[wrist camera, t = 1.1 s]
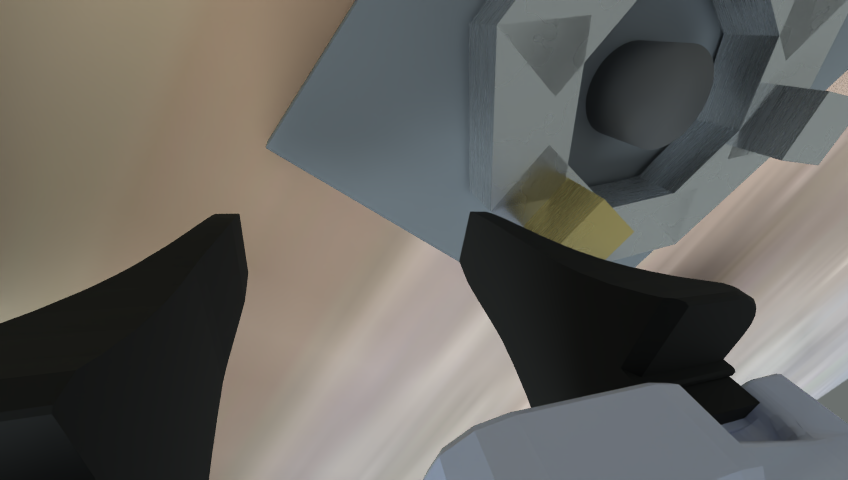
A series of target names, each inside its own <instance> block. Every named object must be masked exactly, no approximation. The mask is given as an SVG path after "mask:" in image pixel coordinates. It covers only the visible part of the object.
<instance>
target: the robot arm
mask: <svg viewBox="0 0 848 480" xmlns="http://www.w3.org/2000/svg"><path fill="white" fill-rule="evenodd" d="M459 261H460V264H461V267H462V269H463V272H464V274H465V277H466V279H467V281H468V283H469V285H470V287H471V289H472V290H473V292H474V294H475V296H476V297H477V299H478V301H479V302H480V304H481V305H482V307H483V309H484V310H485V312H486V314H487V315H488V317H489V319H490V320H491V322H492V324H493V325H494V327H495V329H496V330H497V332H498V334H499V335H500V337H501V339H502V341H503V343H504V345H505V347H506V349H507V351H508V354H509V356H510V358H511V360H512V362H513V364H514V367H515V369H516V371H517V374H518V376H519V378H520V381H521V383H522V386H523V388H524V390H525V393H526V395H527V398H528V400H529V403H530V406H531V408H528V409H524V410H519V411H514V412H510V413H507V414H504V415H502V416H499V417H496V418H494V419H491V420H488V421H486V422H483V423H480V424H478V425H475V426H473V427H471V428H470V429H469V430H467V431H466V432H464V433H463V434H462V435H460V436H459V437H457V438H456V439H455V440H453V441H452V442H450V443H449V444H448V445H446V446H445V447H443V448H442V450H441V451H440V453H439V454H438V456H437V457H436V459H435V460H434V462H433V463H432V465H431V466H430V468H429V469H428V471H427V473H426V475H425V477H424V479H423V480H848V423H847V422H845V421H844V420H842V419H841V418H840V417H838V416H837V415H836V414H834V413H833V412H832V411H830V410H829V409H828V408H826V407H825V406H824V405H822V404H821V403H819V402H818V401H817V400H815V399H814V398H813V397H811V396H810V395H809V394H807V393H806V392H805V391H803V390H802V389H801V388H799V387H798V386H796V385H795V384H794V383H792V382H791V381H790V380H788V379H787V378H786V377H784V376H783V375H782V374H773V375H769V376H765V377H761V378H757V379H753V380H750V381H748V382H746V383H745V384H743V385H742V386H740V385H739V384H738V383H736V382H735V381H734V380H733V379H732V378H730V377H729V376H732V375H733V374H734V373H735V369H734V368H733V367H732V366H731V365H730V364H728V363H727V362H726V361H725V360H723V359H724V358H725V357H726V355H727V354H728V353H729V352H730V350H731V349H732V348H733V347H734V346H735V344H736V343H737V342H738V341H739V340H740V338H741V337H742V336H743V335H744V333H745V332H746V331H747V329H748V328H749V326H750V325H751V323H752V321H753V319H754V317H755V313H756V304H755V301H754V299H753V298H751V297H750V296H748V295H747V294H745V293H744V292H742V291H741V290H739V289H737V288H735V287H733V286H730V285H727V284H724V283H718V282H711V281H704V280H697V279H690V278H683V277H677V276H671V275H666V274H661V273H656V272H651V271H646V270H642V269H638V268H633V267H629V266H626V265H622V264H618V263H615V262H611V261H607V260H604V259H601V258H598V257H595V256H592V255H589V254H586V253H583V252H580V251H577V250H575V249H572V248H569V247H567V246H564V245H562V244H560V243H557V242H555V241H552V240H550V239H548V238H546V237H543V236H541V235H539V234H537V233H535V232H532V231H530V230H528V229H526V228H524V227H522V226H520V225H518V224H515V223H513V222H511V221H509V220H507V219H505V218H502V217H500V216H498V215H495V214H492V213H489V212H486V211H483V212H470V214H469V218H468V223H467V227H466V232H465V236H464V241H463V246H462V250H461V255H460V259H459ZM247 279H248V268H247V262H246V255H245V248H244V242H243V235H242V228H241V222H240V215H239V214H214V215H212V216H211V217H209V218H207V219H206V220H204V221H203V222H201V223H200V224H198V225H197V226H196V227H194V228H193V229H191V230H190V231H188V232H187V233H185V234H184V235H182V236H181V237H179V238H178V239H176V240H175V241H173V242H172V243H170V244H169V245H167V246H166V247H164V248H162V249H161V250H159V251H157V252H156V253H154V254H152V255H151V256H149V257H147V258H146V259H144V260H142V261H141V262H139V263H137V264H136V265H134V266H132V267H130V268H129V269H127V270H125V271H123V272H121V273H119V274H117V275H115V276H113V277H111V278H109V279H107V280H105V281H103V282H101V283H99V284H97V285H95V286H92V287H90V288H88V289H86V290H84V291H81V292H79V293H77V294H74V295H72V296H69V297H67V298H64V299H62V300H60V301H57V302H55V303H52V304H50V305H47V306H45V307H43V308H40V309H38V310H35V311H33V312H30V313H28V314H25V315H22V316H20V317H17V318H14V319H11V320H8V321H6V322H3V323H0V480H209V474H210V466H211V458H212V451H213V444H214V437H215V430H216V423H217V416H218V409H219V403H220V397H221V391H222V384H223V380H224V375H225V371H226V367H227V363H228V359H229V356H230V352H231V349H232V345H233V342H234V338H235V335H236V331H237V328H238V324H239V320H240V317H241V313H242V310H243V306H244V302H245V295H246V288H247Z"/></svg>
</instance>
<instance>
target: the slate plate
mask: <svg viewBox="0 0 848 480" xmlns="http://www.w3.org/2000/svg"><path fill="white" fill-rule="evenodd" d="M485 1H486V0H355V2H354V3H353V5H352V7H351V8H350V10H349V11H348V13H347V15H346V16H345V18H344V19H343V21H342V23H341V24H340V26H339V27H338V29H337V31H336V32H335V34H334V35H333V37H332V39H331V40H330V42H329V43H328V45H327V47H326V48H325V50H324V52H323V53H322V55H321V56H320V58H319V60H318V61H317V63H316V64H315V66H314V68H313V69H312V71H311V72H310V74H309V76H308V77H307V79H306V80H305V82H304V84H303V85H302V87H301V88H300V90H299V92H298V93H297V95H296V97H295V98H294V100H293V101H292V103H291V105H290V106H289V108H288V109H287V111H286V113H285V114H284V116H283V117H282V119H281V121H280V122H279V124H278V125H277V127H276V129H275V130H274V132H273V133H272V135H271V137H270V138H269V140H268V142H267V145H266V148H267V149H269V150H270V151H272V152H274V153H275V154H277V155H279V156H280V157H282V158H284V159H286V160H287V161H289V162H291V163H292V164H294V165H296V166H297V167H299V168H301V169H303V170H304V171H306V172H308V173H309V174H311V175H313V176H314V177H316V178H318V179H320V180H321V181H323V182H325V183H326V184H328V185H330V186H331V187H333V188H335V189H336V190H338V191H340V192H342V193H343V194H345V195H347V196H348V197H350V198H352V199H353V200H355V201H357V202H359V203H360V204H362V205H364V206H365V207H367V208H369V209H370V210H372V211H374V212H376V213H377V214H379V215H381V216H382V217H384V218H386V219H387V220H389V221H391V222H393V223H394V224H396V225H398V226H399V227H401V228H403V229H404V230H406V231H408V232H409V233H411V234H413V235H415V236H416V237H418V238H420V239H421V240H423V241H425V242H426V243H428V244H430V245H432V246H433V247H435V248H437V249H438V250H440V251H442V252H443V253H445V254H447V255H449V256H450V257H452V258H454V259H455V260H457V261H459V259H460V255H461V250H462V246H463V241H464V236H465V232H466V227H467V223H468V218H469V214H470V212H483V211H486V212H489V213H492V212H491V211H490V210H489V209H488V208H487V207H486V206H485V205H484V204H483V203H482V202H481V201H480V200H479V199H478V198H477V197H476V196H475V195H474V194H473V193H472V192H471V191H470V190H469V23H470V22H471V21H472V19H473V18H474V16H475V15H476V14H477V12H478V11H479V10H480V8H481V7H482V5H483V4H484V3H485ZM723 36H724V33H723V30H722V28H721V25H720V22H719V19H718V17H717V14H716V11H715V8H714V6H713V3H712V0H637V1H636V2H635V3H634V5H633V6H632V7H631V8H630V9H629V10H628V12H627V13H626V14H625V15H624V16H623V18H622V19H621V20H620V21H619V22H618V23H617V25H616V26H615V27H614V28H613V29H612V31H611V32H610V33H609V34H608V35H607V36H606V38H605V39H604V40H603V41H602V42H601V43H600V45H599V46H598V47H597V48H596V49H595V51H594V52H593V53H592V54H591V55H590V56H589V58H588V59H587V60H586V61H585V62H584V67H583V73H582V79H581V86H580V92H579V98H578V104H577V111H576V117H575V123H574V129H573V135H572V142H571V148H570V154H569V160H568V165H569V166H570V168H571V169H572V170H573V171H574V172H575V173H576V174H577V175H578V176H579V177H580V178H581V179H582V180H583V181H584V183H585V184H586V185H587V186H588V187H591V186H596V185H600V184H605V183H610V182H614V181H619V180H623V179H628V178H632V177H637V176H639V175H640V174H641V173H642V172H643V171H644V170H645V169H646V168H647V167H648V166H649V165H650V163H651V162H652V161H653V160H654V159H655V158H656V157H657V156H658V155H659V154H660V153H661V152H662V151H663V150H664V149H665V148H666V147H667V146H668V145H669V144H670V143H672V142H673V141H675V140H676V139H677V138H679V137H680V136H681V135H682V134H683V133H684V132H685V131H687V129H688V128H689V127H690V126H691V125H692V124H693V123H694V121H695V120H696V119H697V117H698V116H699V114H700V113H701V111H702V109H703V108H704V106H705V104H706V102H707V100H708V97H709V95H710V92H711V88H712V84H713V79H714V61H715V59H716V56H717V53H718V50H719V47H720V44H721V41H722V38H723ZM847 70H848V14H847V16H846V18H845V20H844V22H843V24H842V26H841V28H840V30H839V32H838V34H837V36H836V38H835V40H834V42H833V44H832V46H831V48H830V50H829V52H828V54H827V56H826V58H825V60H824V62H823V64H822V66H821V68H820V70H819V72H818V74H817V76H816V78H815V80H814V82H813V84H812V86H811V88H810V89H815V90H822V91H825V90H826V89H827V88H828V87H829V86H831V85H832V84H833V83H834V82H835V81H836V80H837V79H838V78H839V77H840V76H841V75H842V74H843V73H844V72H846V71H847ZM492 214H493V213H492ZM652 251H653V250H651V251H648V252H644V253H640V254H636V255H633V256H629V257H625V258H622V259H618V260H614V261H611V262H615V263H618V264H622V265H626V266H629V267H633V268H635V267H636V266H637V265H638V264H639V263H640V262H641V261H642V260H643V259H644V258H646V257H647V256H648V255H649V254H650V253H651V252H652ZM459 262H460V261H459Z"/></svg>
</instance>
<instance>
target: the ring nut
mask: <svg viewBox="0 0 848 480" xmlns="http://www.w3.org/2000/svg"><path fill="white" fill-rule="evenodd" d="M636 1H637V0H486V1H485V3H484V4H483V5H482V7H481V8H480V10H479V11H478V12H477V14H476V15H475V16H474V18H473V19H472V21H471V22H470V23H469V190H470V191H471V192H472V193H473V194H474V195H475V196H476V197H477V198H478V199H479V200H480V201H481V202H482V203H483V204H484V205H485V206H486V207H487V208H488V209H489V210H490V211H491V212H492V213H493V214H495V215H498V216H500V217H502V218H505V219H507V220H509V221H511V222H513V223H515V224H518V225H520V226H522V227H524V228H526V229H528V230H530V231H532V232H535V233H537V234H539V235H541V236H543V237H546V238H548V239H550V240H552V241H555V242H557V243H560V244H562V245H564V246H567V247H569V248H572V249H575V250H577V251H580V252H583V253H586V254H589V255H592V256H595V257H598V258H601V259H604V260H607V261H614V260H618V259H622V258H625V257H629V256H633V255H636V254H640V253H644V252H648V251H651V250H655V249H659V248H662V247H666V246H670V245H673V244H676V243H677V242H678V241H679V240H680V239H681V238H682V237H683V236H684V235H685V234H687V233H688V232H689V231H690V230H691V229H692V228H693V227H694V226H695V225H696V224H697V223H699V222H700V221H701V220H702V219H703V218H704V217H705V216H706V215H707V214H708V213H709V212H711V211H712V210H713V209H714V208H715V207H716V206H717V205H718V204H719V203H720V202H721V201H723V200H724V199H725V198H726V197H727V196H728V195H729V194H730V193H731V192H732V191H733V190H735V189H736V188H737V187H738V186H739V185H740V184H741V183H742V182H743V181H744V180H745V179H747V178H748V177H749V176H750V175H751V174H752V173H753V172H754V171H755V170H756V169H757V168H759V167H760V166H761V165H762V164H763V163H764V162H765V161H766V160H767V159H768V158H769V157H772V158H775V159H779V160H783V161H790V162H798V163H805V164H813V165H819V163H820V162H821V161H822V159H823V158H824V157H825V155H826V154H827V153H828V151H829V150H830V149H831V147H832V146H833V145H834V144H835V142H836V141H837V140H838V138H839V137H840V136H841V134H842V133H843V132H844V130H845V129H846V128H847V126H848V96H845V95H841V94H837V93H833V92H830V91H822V90H815V89H810V88H811V86H812V84H813V82H814V80H815V78H816V76H817V74H818V72H819V70H820V68H821V66H822V64H823V62H824V60H825V58H826V56H827V54H828V52H829V50H830V48H831V46H832V44H833V42H834V40H835V38H836V36H837V34H838V32H839V30H840V28H841V26H842V24H843V22H844V20H845V18H846V16H847V14H848V0H712V3H713V6H714V8H715V11H716V14H717V17H718V19H719V22H720V25H721V28H722V30H723V33H724V36H723V38H722V41H721V44H720V47H719V50H718V53H717V56H716V59H715V61H714V79H713V84H712V88H711V92H710V95H709V97H708V100H707V102H706V104H705V106H704V108H703V109H702V111H701V113H700V114H699V116H698V117H697V119H696V120H695V121H694V123H693V124H692V125H691V126H690V127H689V128H688V129H687V131H685V132H684V133H683V134H682V135H681V136H680V137H679V138H677V139H676V140H675V141H673V142H672V143H670V144H669V145H668V146H667V147H666V148H665V149H664V150H663V151H662V152H661V153H660V154H659V155H658V156H657V157H656V158H655V159H654V160H653V161H652V162H651V163H650V165H649V166H648V167H647V168H646V169H645V170H644V171H643V172H642V173H641V174H640V175H639V176H637V177H632V178H628V179H623V180H619V181H614V182H610V183H605V184H600V185H596V186H591V187H588V186H587V185H586V184H585V183H584V181H583V180H582V179H581V178H580V177H579V176H578V175H577V174H576V173H575V172H574V171H573V170H572V169H571V168H570V166H569V165H568V160H569V154H570V148H571V142H572V135H573V129H574V123H575V117H576V111H577V104H578V98H579V92H580V86H581V79H582V73H583V67H584V62H585V61H586V60H587V59H588V58H589V56H590V55H591V54H592V53H593V52H594V51H595V49H596V48H597V47H598V46H599V45H600V43H601V42H602V41H603V40H604V39H605V38H606V36H607V35H608V34H609V33H610V32H611V31H612V29H613V28H614V27H615V26H616V25H617V23H618V22H619V21H620V20H621V19H622V18H623V16H624V15H625V14H626V13H627V12H628V10H629V9H630V8H631V7H632V6H633V5H634V3H635V2H636Z"/></svg>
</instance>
